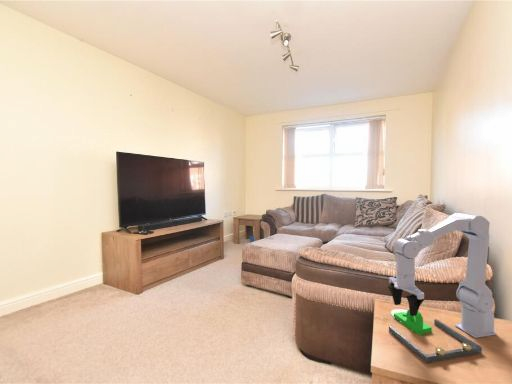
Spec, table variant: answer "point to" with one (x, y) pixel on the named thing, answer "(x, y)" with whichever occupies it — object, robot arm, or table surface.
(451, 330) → the grey frame
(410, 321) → the mechanical part
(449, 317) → the table surface
